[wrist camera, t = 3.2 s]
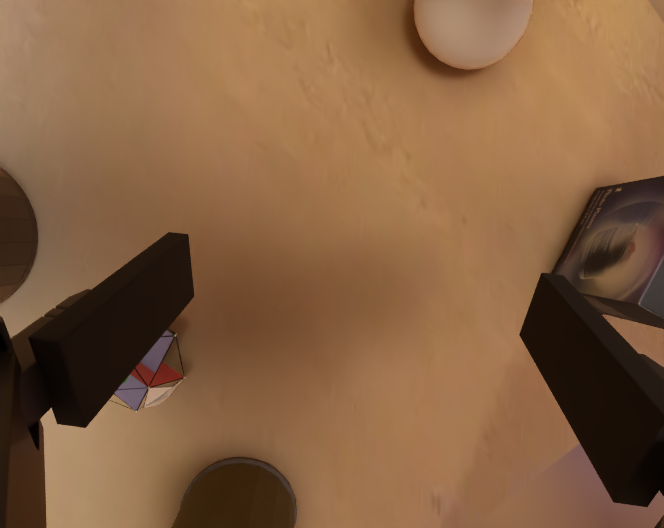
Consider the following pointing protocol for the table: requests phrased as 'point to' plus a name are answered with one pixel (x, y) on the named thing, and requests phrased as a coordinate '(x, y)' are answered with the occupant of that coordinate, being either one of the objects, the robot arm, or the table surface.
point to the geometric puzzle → (150, 377)
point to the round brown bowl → (15, 236)
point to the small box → (621, 252)
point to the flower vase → (471, 29)
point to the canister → (238, 497)
